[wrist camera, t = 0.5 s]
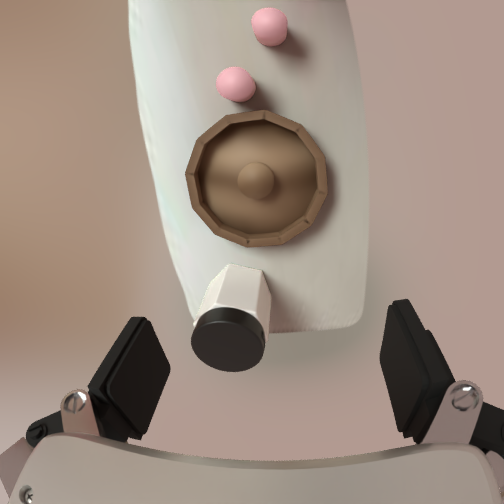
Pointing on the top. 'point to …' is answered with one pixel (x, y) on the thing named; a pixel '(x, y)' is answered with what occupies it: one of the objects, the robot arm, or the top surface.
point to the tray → (256, 178)
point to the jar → (233, 320)
